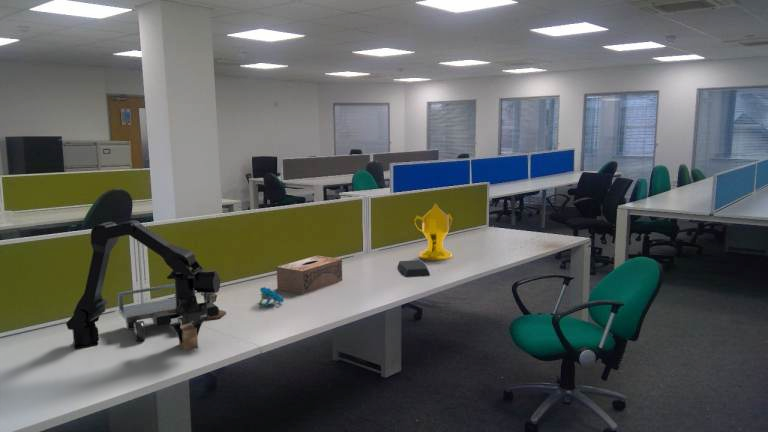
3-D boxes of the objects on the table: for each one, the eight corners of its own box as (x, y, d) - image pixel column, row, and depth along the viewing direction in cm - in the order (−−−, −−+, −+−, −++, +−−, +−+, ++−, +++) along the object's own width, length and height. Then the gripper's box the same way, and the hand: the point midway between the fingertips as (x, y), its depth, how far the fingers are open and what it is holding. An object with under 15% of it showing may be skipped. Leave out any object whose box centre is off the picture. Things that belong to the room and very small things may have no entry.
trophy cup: (406, 256, 300) (405, 203, 295) (442, 250, 312) (443, 200, 308) (425, 262, 285) (425, 207, 281) (463, 256, 297) (463, 203, 293)
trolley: (132, 344, 177) (129, 306, 175) (120, 327, 193) (117, 292, 191) (196, 331, 188) (194, 295, 187) (180, 316, 204) (178, 283, 203)
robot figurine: (190, 316, 204) (188, 284, 202) (211, 310, 212) (210, 278, 210) (208, 322, 198) (206, 289, 196) (230, 315, 205) (229, 283, 203)
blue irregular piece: (289, 300, 217) (271, 285, 211) (281, 313, 214) (263, 299, 209) (273, 298, 224) (255, 284, 219) (265, 311, 222) (247, 297, 216)
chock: (184, 350, 172) (183, 331, 171) (179, 344, 177) (178, 325, 176) (198, 347, 174) (196, 328, 174) (192, 341, 179) (191, 323, 178)
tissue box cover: (317, 276, 260) (317, 255, 258) (342, 281, 252) (341, 259, 250) (277, 289, 239) (276, 266, 237) (302, 294, 231) (302, 271, 229)
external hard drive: (422, 266, 277) (422, 258, 277) (431, 276, 259) (431, 267, 258) (395, 268, 275) (395, 260, 275) (403, 278, 256) (403, 269, 256)
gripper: (160, 304, 161) (163, 356, 164) (223, 292, 172) (226, 341, 174) (150, 295, 170) (154, 344, 173) (212, 285, 181) (214, 331, 183)
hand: (188, 340), depth 176 cm, fingers closed on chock, 4 cm apart
